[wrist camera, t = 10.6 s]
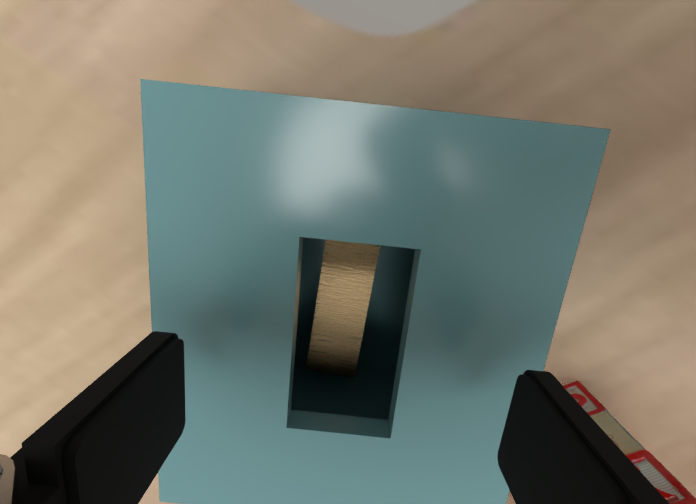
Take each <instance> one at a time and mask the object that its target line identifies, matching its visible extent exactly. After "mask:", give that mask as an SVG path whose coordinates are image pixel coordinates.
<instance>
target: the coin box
mask: <svg viewBox="0 0 696 504" xmlns="http://www.w3.org/2000/svg"><path fill="white" fill-rule="evenodd" d="M140 80H141V102H142V124H143V146H144V168H145V190H146V212H147V234H148V256H149V278H150V300H151V322H152V332H154V331H159V332H169V333H176V334H177V335H178V338H179V339H182V340H183V342H184V366H185V417H186V420H185V427H184V430H183V433H182V435H181V436H180V438H179V440H178V441H177V443H176V444H175V446H174V448H173V449H172V451H171V452H170V454H169V455H168V457H167V459H166V460H165V462H164V463H163V465H162V467H161V468H160V470H159V471H158V475H159V497H160V501H162V502H171V503H181V504H506V502H507V498H508V494H509V491H510V490H509V487H508V485H507V483H506V481H505V479H504V477H503V474H502V472H501V470H500V468H499V465H498V458H497V457H498V450H499V446H500V442H501V438H502V434H503V430H504V426H505V423H506V419H507V415H508V411H509V407H510V403H511V400H512V396H513V392H514V388H515V384H516V380H517V377H518V376H519V375H520V374H522V375H523V373H524V372H525V371H526V370H535V371H543V369H544V366H545V362H546V359H547V355H548V351H549V348H550V344H551V341H552V337H553V333H554V330H555V326H556V323H557V319H558V316H559V312H560V308H561V305H562V301H563V298H564V294H565V291H566V287H567V283H568V280H569V276H570V273H571V269H572V265H573V262H574V258H575V255H576V251H577V248H578V244H579V240H580V237H581V233H582V230H583V226H584V223H585V219H586V215H587V212H588V208H589V205H590V201H591V198H592V194H593V190H594V187H595V183H596V180H597V176H598V172H599V169H600V165H601V162H602V158H603V155H604V151H605V147H606V144H607V140H608V137H609V133H610V130H611V129H603V128H593V127H584V126H575V125H565V124H556V123H546V122H537V121H528V120H518V119H509V118H500V117H490V116H481V115H472V114H462V113H453V112H444V111H434V110H425V109H415V108H406V107H397V106H387V105H378V104H369V103H359V102H350V101H341V100H331V99H322V98H313V97H303V96H294V95H284V94H275V93H266V92H256V91H247V90H238V89H228V88H219V87H210V86H200V85H191V84H182V83H172V82H163V81H153V80H144V79H140ZM326 240H335V241H345V242H354V243H364V244H373V245H380V249H379V254H378V259H377V265H376V270H375V275H374V280H373V285H372V290H371V295H370V300H369V305H368V311H367V316H366V321H365V326H364V331H363V336H362V341H361V346H360V352H359V357H358V362H357V367H356V372H355V377H349V376H343V375H337V374H330V373H324V372H318V371H311V370H306V366H307V359H308V353H309V346H310V340H311V333H312V327H313V320H314V314H315V307H316V301H317V294H318V288H319V281H320V275H321V268H322V262H323V255H324V249H325V242H326Z"/></svg>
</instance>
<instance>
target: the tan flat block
mask: <svg viewBox="0 0 696 504" xmlns="http://www.w3.org/2000/svg"><path fill="white" fill-rule="evenodd" d="M379 249H380V245H373V244H364V243H354V242H345V241H335V240H326V242H325V249H324V255H323V262H322V268H321V275H320V281H319V288H318V294H317V301H316V307H315V314H314V320H313V327H312V333H311V340H310V346H309V353H308V359H307V366H306V370H311V371H318V372H324V373H330V374H337V375H343V376H349V377H355V372H356V367H357V362H358V357H359V352H360V346H361V341H362V336H363V331H364V326H365V321H366V316H367V311H368V305H369V300H370V295H371V290H372V285H373V280H374V275H375V270H376V265H377V259H378V254H379Z"/></svg>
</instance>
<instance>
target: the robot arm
mask: <svg viewBox="0 0 696 504" xmlns="http://www.w3.org/2000/svg"><path fill="white" fill-rule="evenodd" d="M185 420H186V417H185V366H184V342H183V340H182V339H179V338H178V335H177V334H176V333H169V332H159V331H154V332H152V333H151V334H149V335H148V336H147V337H146V338H145V339H144V340H142V341H141V342H140V343H139V344H138V345H136V346H135V347H134V348H133V349H132V350H131V351H129V352H128V353H127V354H126V355H125V356H124V357H122V358H121V359H120V360H119V361H118V362H116V363H115V364H114V365H113V366H112V367H111V368H109V369H108V370H107V371H106V372H105V373H104V374H102V375H101V376H100V377H99V378H98V379H97V380H95V381H94V382H93V383H92V384H91V385H89V386H88V387H87V388H86V389H85V390H84V391H82V392H81V393H80V394H79V395H78V396H77V397H75V398H74V399H73V400H72V401H71V402H69V403H68V404H67V405H66V406H65V407H64V408H62V409H61V410H60V411H59V412H58V413H57V414H55V415H54V416H53V417H52V418H51V419H50V420H48V421H47V422H46V423H45V424H44V425H42V426H41V427H40V428H39V429H38V430H37V431H35V432H34V433H33V434H32V435H31V436H30V437H28V438H27V439H26V440H25V441H24V442H22V448H21V449H20V450H19V451H17V452H16V453H15V454H14V455H13V456H12V457H11V458H9V457H8V456H6V455H1V454H0V504H138V503H139V501H140V500H141V498H142V497H143V495H144V493H145V492H146V490H147V489H148V487H149V486H150V484H151V482H152V481H153V479H154V478H155V476H156V474H157V473H158V471H159V470H160V468H161V467H162V465H163V463H164V462H165V460H166V459H167V457H168V455H169V454H170V452H171V451H172V449H173V448H174V446H175V444H176V443H177V441H178V440H179V438H180V436H181V435H182V433H183V430H184V427H185ZM497 458H498V465H499V468H500V470H501V472H502V474H503V477H504V479H505V481H506V483H507V485H508V487H509V490H510V492H511V494H512V496H513V498H514V500H515V503H516V504H669V503H668V501H667V500H666V499H665V498H664V497H663V496H662V495H661V494H660V493H659V492H658V490H657V489H656V488H655V487H654V486H653V485H652V484H651V483H650V482H649V480H648V479H647V478H646V477H645V476H644V475H643V474H642V473H641V472H640V471H639V469H638V468H637V467H636V466H635V465H634V464H633V463H632V462H631V461H630V460H629V458H628V457H627V456H626V455H625V454H624V453H623V452H622V451H621V450H620V449H619V447H618V446H617V445H616V444H615V443H614V442H613V441H612V440H611V439H610V438H609V436H608V435H607V434H606V433H605V432H604V431H603V430H602V429H601V428H600V426H599V425H598V424H597V423H596V422H595V421H594V420H593V419H592V418H591V417H590V415H589V414H588V413H587V412H586V411H585V410H584V409H583V408H582V407H581V406H580V404H579V403H578V402H577V401H576V400H575V399H574V398H573V397H572V396H571V395H570V393H569V392H568V391H567V390H566V389H565V388H564V387H563V386H562V385H561V384H560V382H559V381H558V380H557V379H556V378H555V377H554V376H553V375H552V374H551V373H550V372H545V371H535V370H526V371H525V372H524V373H523V375H522V374H520V375H519V376H518V377H517V380H516V384H515V388H514V392H513V396H512V400H511V403H510V407H509V411H508V415H507V419H506V423H505V426H504V430H503V434H502V438H501V442H500V446H499V450H498V457H497Z"/></svg>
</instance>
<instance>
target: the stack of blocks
mask: <svg viewBox="0 0 696 504" xmlns="http://www.w3.org/2000/svg"><path fill="white" fill-rule="evenodd" d="M563 387H564V388H565V389H566V390H567V391H568V392H569V393H570V395H571V396H572V397H573V398H574V399H575V400H576V401H577V402H578V403H579V404H580V406H581V407H582V408H583V409H584V410H585V411H586V412H587V413H588V414H589V415H590V417H591V418H592V419H593V420H594V421H595V422H596V423H597V424H598V425H599V426H600V428H601V429H602V430H603V431H604V432H605V433H606V434H607V435H608V436H609V438H610V439H611V440H612V441H613V442H614V443H615V444H616V445H617V446H618V447H619V449H620V450H621V451H622V452H623V453H624V454H625V455H626V456H627V457H628V458H629V460H630V461H631V462H632V463H633V464H634V465H635V466H636V467H637V468H638V469H639V471H640V472H641V473H642V474H643V475H644V476H645V477H646V478H647V479H648V480H649V482H650V483H651V484H652V485H653V486H654V487H655V488H656V489H657V490H658V492H659V493H660V494H661V495H662V496H663V497H664V498H665V499H666V500H667V501H668V503H669V504H696V498H695V497H694V496H693V495H692V494H691V493H690V492H689V491H688V490H687V489H686V488H685V487H684V486H683V485H682V484H681V483H680V482H679V481H678V480H677V479H676V478H675V477H674V476H673V475H672V474H671V473H670V472H669V471H668V470H667V469H666V468H665V467H664V466H663V465H662V464H661V463H660V462H659V461H658V460H657V459H656V458H655V457H654V456H653V455H652V454H651V453H650V452H648V451H647V450H645V449H644V447H643V446H642V445H641V444H640V443H639V442H638V441H637V440H636V439H634V438H633V437H632V436H631V435H630V434H629V433H628V432H627V431H626V430H625V429H624V428H623V427H622V426H621V425H620V424H619V422H618V421H617V420H616V419H615V418H614V417H613V416H612V415H611V414H609V413H608V410H607V409H606V408H605V407H604V406H603V405H602V404H601V403H600V402H599V401H598V400H597V399H596V398H595V397H593V396H592V395H591V394H590V392H589V391H588V390H587V389H586V388H585V387H584V386H583V385H582V384H581V383H580V382H579V381H576V382H573V383H571V384H568V385H565V386H563Z"/></svg>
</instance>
